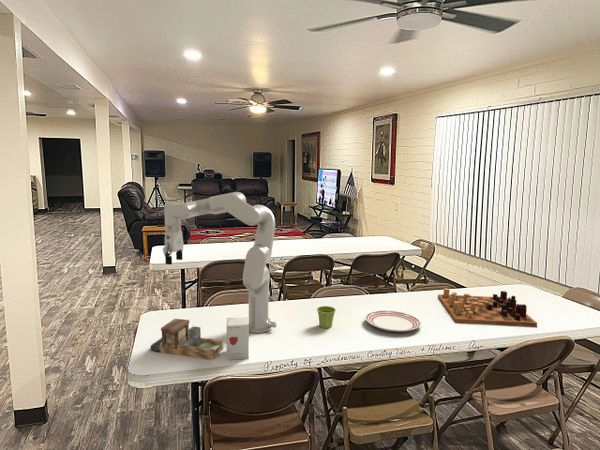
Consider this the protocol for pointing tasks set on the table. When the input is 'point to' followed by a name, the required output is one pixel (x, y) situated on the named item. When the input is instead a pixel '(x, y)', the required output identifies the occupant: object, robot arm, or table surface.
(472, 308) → the gameboard
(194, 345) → the beige and grey block
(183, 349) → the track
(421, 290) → the table surface
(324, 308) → the plant pot
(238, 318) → the supplement box
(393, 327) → the dinner plate
